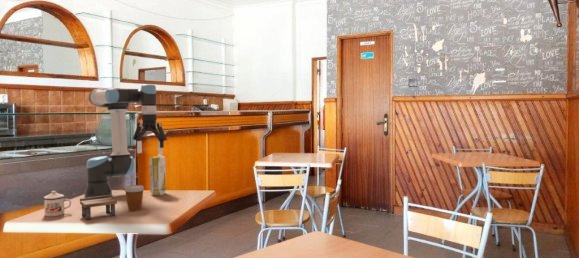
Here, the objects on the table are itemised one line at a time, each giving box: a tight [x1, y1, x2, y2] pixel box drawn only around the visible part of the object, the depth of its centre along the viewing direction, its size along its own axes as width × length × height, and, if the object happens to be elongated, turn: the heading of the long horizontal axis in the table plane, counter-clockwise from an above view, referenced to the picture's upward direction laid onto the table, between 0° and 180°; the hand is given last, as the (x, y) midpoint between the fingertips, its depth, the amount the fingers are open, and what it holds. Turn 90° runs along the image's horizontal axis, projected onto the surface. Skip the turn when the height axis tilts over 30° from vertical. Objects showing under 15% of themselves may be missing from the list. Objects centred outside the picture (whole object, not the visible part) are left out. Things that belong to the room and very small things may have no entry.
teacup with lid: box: [43, 190, 72, 217], centre depth 214 cm, size 12×9×12 cm
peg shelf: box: [79, 195, 118, 221], centre depth 210 cm, size 12×14×8 cm
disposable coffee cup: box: [124, 184, 145, 212], centre depth 222 cm, size 10×10×12 cm
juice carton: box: [149, 154, 167, 196], centre depth 262 cm, size 9×8×24 cm
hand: (149, 153), depth 232 cm, fingers open, 13 cm apart
